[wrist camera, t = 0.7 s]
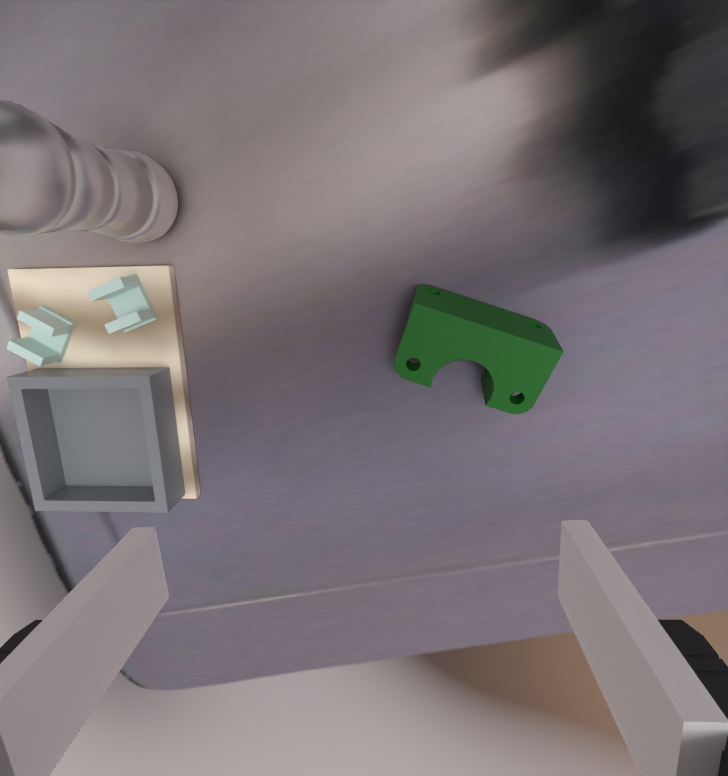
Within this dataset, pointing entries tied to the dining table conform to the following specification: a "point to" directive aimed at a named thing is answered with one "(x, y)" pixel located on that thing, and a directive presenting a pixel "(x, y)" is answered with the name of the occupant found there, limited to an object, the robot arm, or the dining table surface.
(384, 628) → the dining table surface
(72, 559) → the dining table surface
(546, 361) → the clamp
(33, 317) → the clip
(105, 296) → the clip
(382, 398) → the dining table surface
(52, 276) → the board
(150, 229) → the plastic bottle
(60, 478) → the holder
